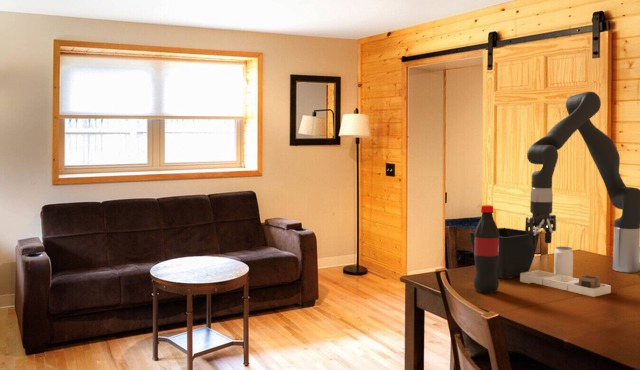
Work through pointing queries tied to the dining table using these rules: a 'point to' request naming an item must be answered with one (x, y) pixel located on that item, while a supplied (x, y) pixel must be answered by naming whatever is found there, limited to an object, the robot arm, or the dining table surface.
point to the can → (563, 261)
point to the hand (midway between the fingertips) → (540, 244)
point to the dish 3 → (589, 289)
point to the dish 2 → (559, 281)
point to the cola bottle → (486, 252)
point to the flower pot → (512, 252)
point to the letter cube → (589, 281)
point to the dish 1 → (535, 276)
